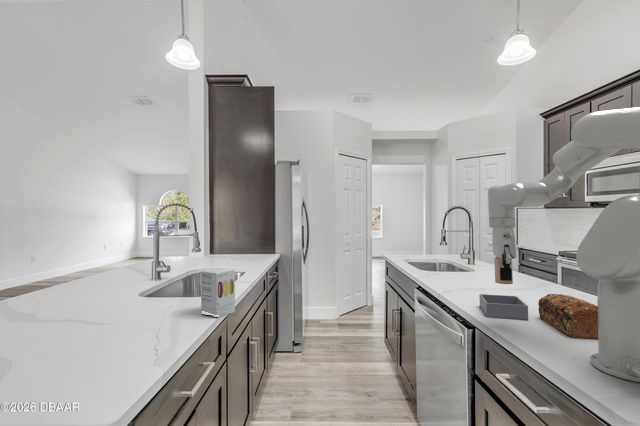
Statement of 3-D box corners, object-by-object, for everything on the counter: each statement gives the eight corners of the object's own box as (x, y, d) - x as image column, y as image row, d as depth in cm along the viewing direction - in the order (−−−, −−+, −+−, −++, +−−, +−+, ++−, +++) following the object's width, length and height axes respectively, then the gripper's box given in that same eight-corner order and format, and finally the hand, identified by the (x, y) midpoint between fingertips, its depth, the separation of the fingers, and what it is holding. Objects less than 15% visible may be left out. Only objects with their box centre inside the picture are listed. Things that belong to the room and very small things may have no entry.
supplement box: (216, 318, 115) (215, 273, 115) (200, 314, 120) (199, 271, 120) (236, 311, 123) (235, 269, 124) (220, 308, 128) (219, 267, 128)
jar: (514, 284, 99) (513, 259, 99) (497, 283, 101) (496, 259, 101) (510, 281, 104) (509, 257, 104) (493, 280, 105) (492, 257, 106)
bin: (528, 320, 108) (528, 305, 108) (486, 317, 112) (486, 303, 112) (516, 309, 120) (516, 296, 120) (479, 306, 124) (479, 294, 124)
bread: (609, 340, 90) (608, 306, 90) (567, 338, 93) (566, 304, 93) (571, 319, 109) (570, 290, 109) (536, 317, 111) (536, 289, 111)
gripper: (523, 223, 93) (525, 284, 93) (507, 222, 110) (509, 274, 109) (495, 224, 96) (497, 283, 95) (484, 222, 112) (485, 273, 112)
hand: (503, 278), depth 102 cm, fingers closed on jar, 5 cm apart
